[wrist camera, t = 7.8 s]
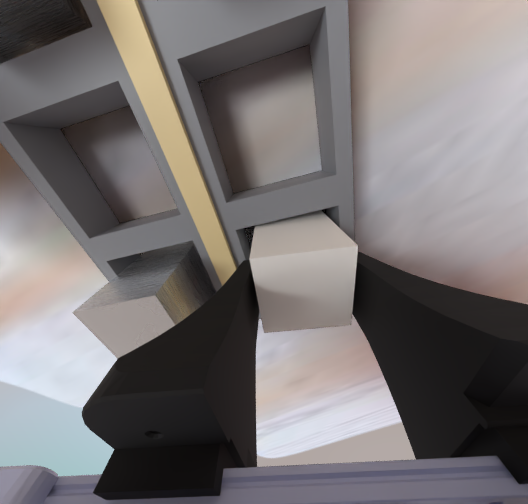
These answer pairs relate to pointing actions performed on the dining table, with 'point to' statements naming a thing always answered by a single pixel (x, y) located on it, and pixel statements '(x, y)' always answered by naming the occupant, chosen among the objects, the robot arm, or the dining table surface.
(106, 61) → the peg board
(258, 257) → the cream rectangular block
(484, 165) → the dining table surface
